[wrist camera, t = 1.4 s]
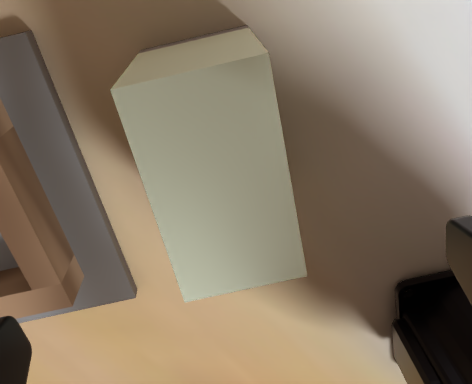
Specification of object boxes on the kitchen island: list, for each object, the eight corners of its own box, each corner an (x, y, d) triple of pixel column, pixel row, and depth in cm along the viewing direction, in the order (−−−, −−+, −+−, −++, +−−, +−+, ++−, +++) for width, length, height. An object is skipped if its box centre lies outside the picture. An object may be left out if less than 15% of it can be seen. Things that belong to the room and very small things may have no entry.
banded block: (246, 25, 16) (268, 52, 11) (278, 190, 19) (307, 276, 14) (140, 50, 16) (109, 90, 11) (189, 210, 19) (184, 302, 14)
